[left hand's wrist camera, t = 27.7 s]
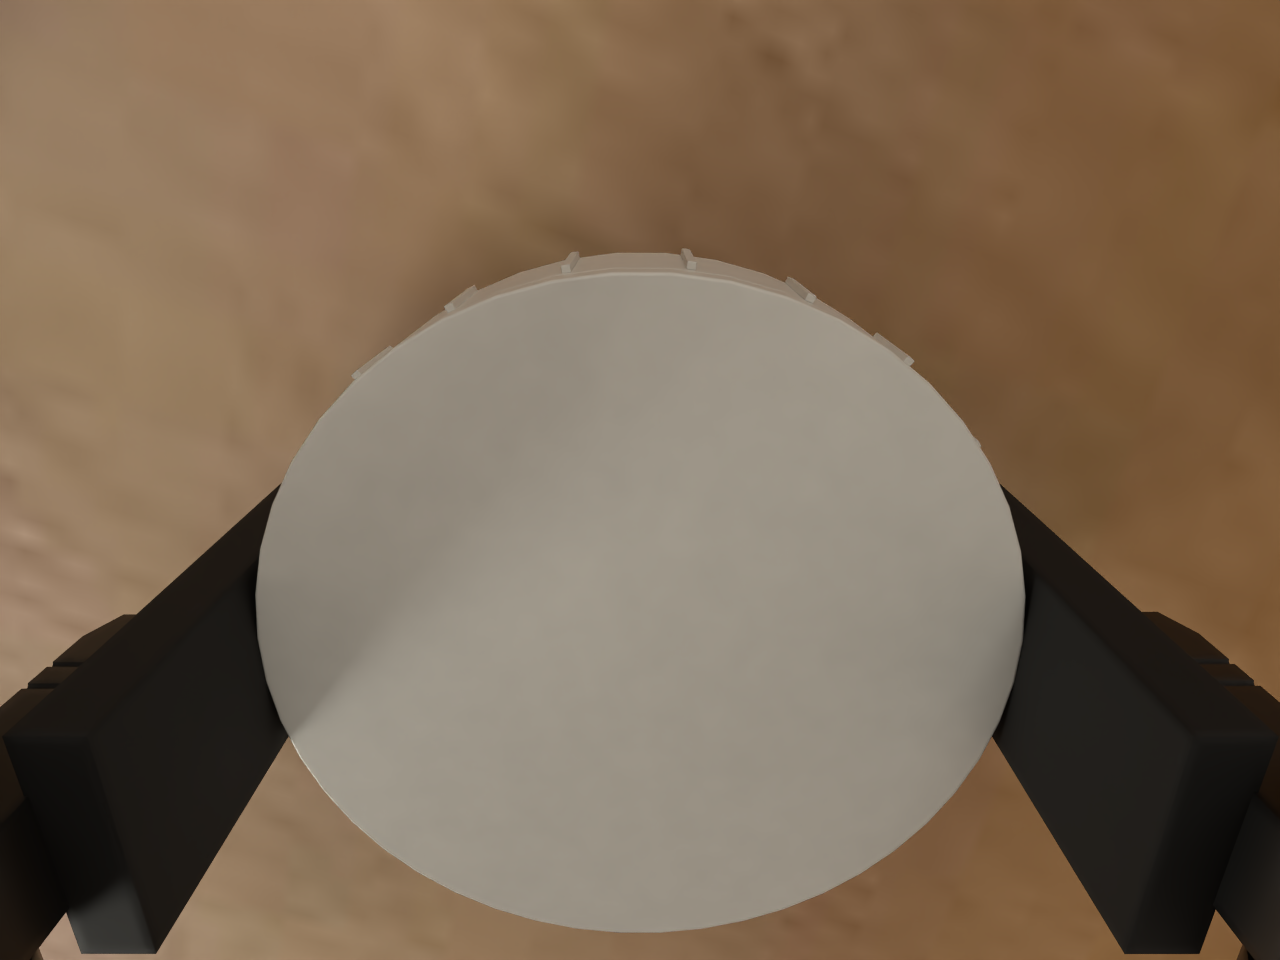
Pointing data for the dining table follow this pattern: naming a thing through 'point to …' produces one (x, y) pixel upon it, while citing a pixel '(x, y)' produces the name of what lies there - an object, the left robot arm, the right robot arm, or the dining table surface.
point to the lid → (640, 596)
